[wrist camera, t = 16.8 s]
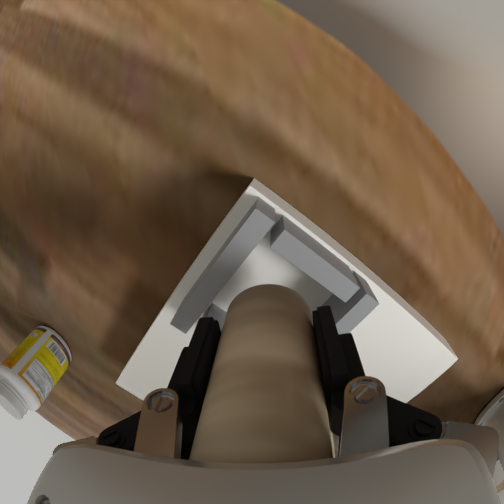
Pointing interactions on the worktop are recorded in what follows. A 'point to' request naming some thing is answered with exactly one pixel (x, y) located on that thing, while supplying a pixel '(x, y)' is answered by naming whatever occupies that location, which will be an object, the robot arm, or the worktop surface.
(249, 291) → the loose leg
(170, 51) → the worktop surface
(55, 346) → the supplement bottle
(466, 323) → the worktop surface
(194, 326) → the white board with frame
